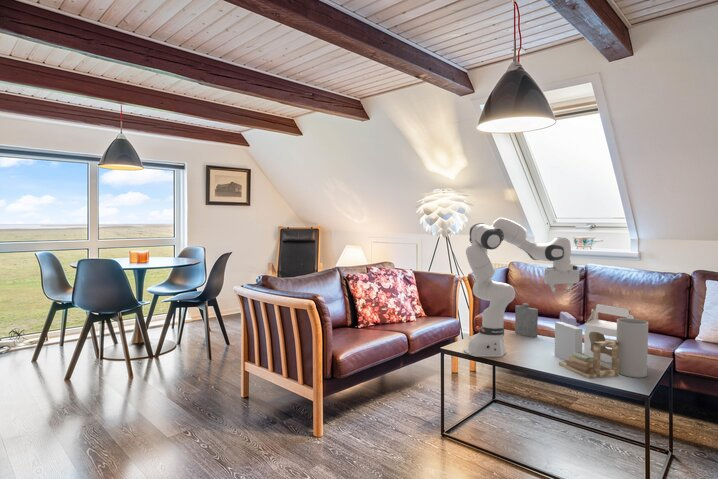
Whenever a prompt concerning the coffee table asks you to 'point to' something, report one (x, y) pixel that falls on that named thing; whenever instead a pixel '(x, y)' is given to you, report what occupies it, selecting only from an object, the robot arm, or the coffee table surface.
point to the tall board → (567, 340)
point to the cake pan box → (567, 318)
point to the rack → (596, 361)
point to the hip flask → (526, 320)
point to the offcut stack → (581, 362)
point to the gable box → (602, 329)
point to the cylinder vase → (632, 347)
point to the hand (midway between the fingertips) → (561, 291)
